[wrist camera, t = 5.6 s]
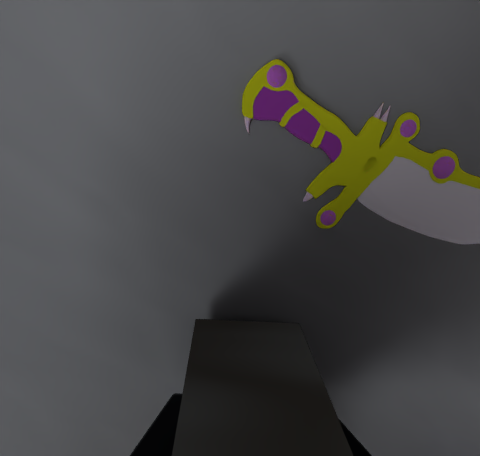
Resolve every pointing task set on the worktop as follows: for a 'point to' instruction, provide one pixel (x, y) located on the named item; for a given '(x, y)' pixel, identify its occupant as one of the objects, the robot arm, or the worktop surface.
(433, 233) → the decorative knife
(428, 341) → the worktop surface
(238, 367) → the wooden mallet
